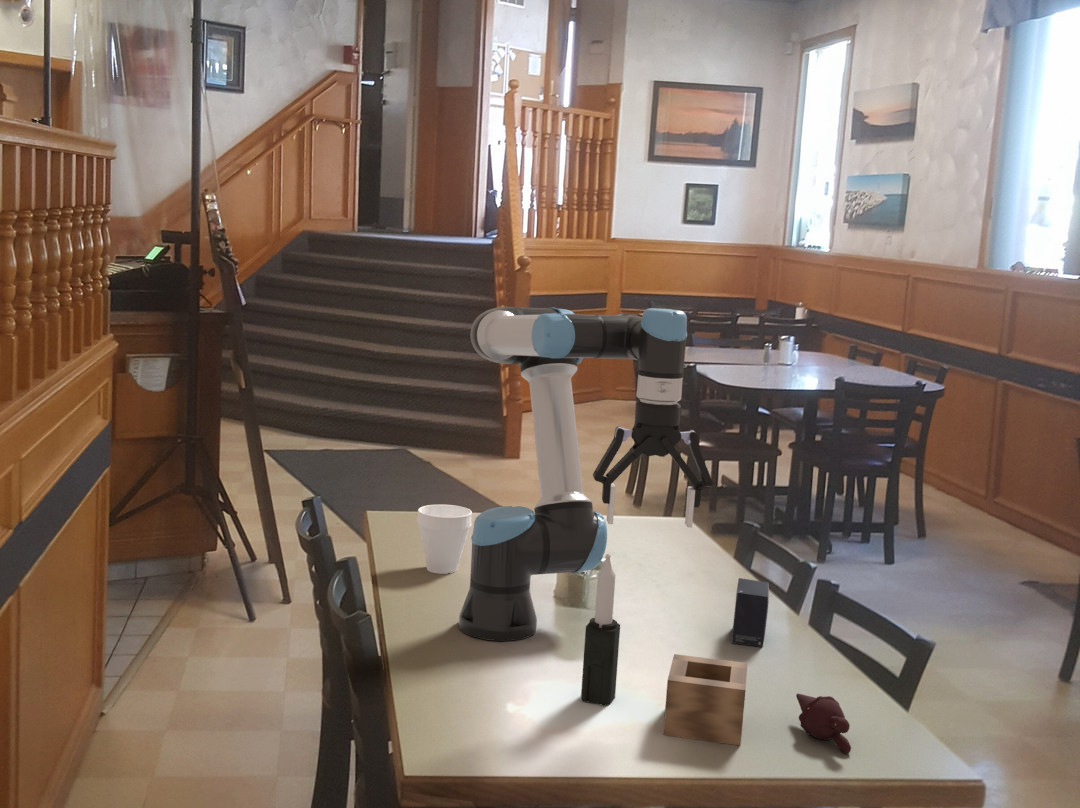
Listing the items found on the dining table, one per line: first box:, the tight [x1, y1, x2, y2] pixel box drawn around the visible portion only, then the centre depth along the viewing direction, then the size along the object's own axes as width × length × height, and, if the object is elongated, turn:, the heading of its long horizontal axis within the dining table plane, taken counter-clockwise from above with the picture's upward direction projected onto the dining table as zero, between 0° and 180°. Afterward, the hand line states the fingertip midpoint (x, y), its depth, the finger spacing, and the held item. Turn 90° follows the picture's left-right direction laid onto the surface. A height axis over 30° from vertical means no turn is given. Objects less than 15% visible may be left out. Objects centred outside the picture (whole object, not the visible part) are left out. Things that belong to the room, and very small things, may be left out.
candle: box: [580, 553, 621, 706], centre depth 195 cm, size 5×5×25 cm
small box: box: [731, 577, 770, 648], centre depth 232 cm, size 11×6×10 cm, turn 168°
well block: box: [662, 653, 748, 746], centre depth 188 cm, size 12×12×9 cm
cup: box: [416, 504, 473, 575], centre depth 265 cm, size 12×12×14 cm
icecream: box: [795, 693, 852, 754], centre depth 187 cm, size 7×7×15 cm
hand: (649, 524), depth 201 cm, fingers open, 13 cm apart
